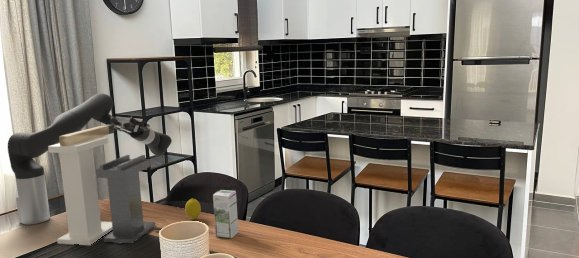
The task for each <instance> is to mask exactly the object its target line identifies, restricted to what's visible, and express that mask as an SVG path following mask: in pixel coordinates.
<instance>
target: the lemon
mask: <svg viewBox="0 0 579 258" xmlns="http://www.w3.org/2000/svg"><path fill="white" fill-rule="evenodd" d="M201 207H202V206H201V203H200V201H198V200H197V199H196V198H191V199H189V200H188V201H187V202H186V204H185V207H184V211H185V215H186V216H187V218H189V219H191V220H193V221H194V220H196V218H198V217H199V216H200V215H201V211H202V208H201Z"/></svg>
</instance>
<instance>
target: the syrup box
mask: <svg viewBox="0 0 579 258" xmlns="http://www.w3.org/2000/svg"><path fill="white" fill-rule="evenodd" d="M236 191H237V190H225V189H220V190H218V191H216V192H215V193H213V195H212V201H213V214H214V228H215V237H216V238H223V239H232V238H234V237H235V236H236V235H238V234H239V224H238V223H239V222H238V207H237V203H238V202H237V201H238V200H237V192H236Z"/></svg>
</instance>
